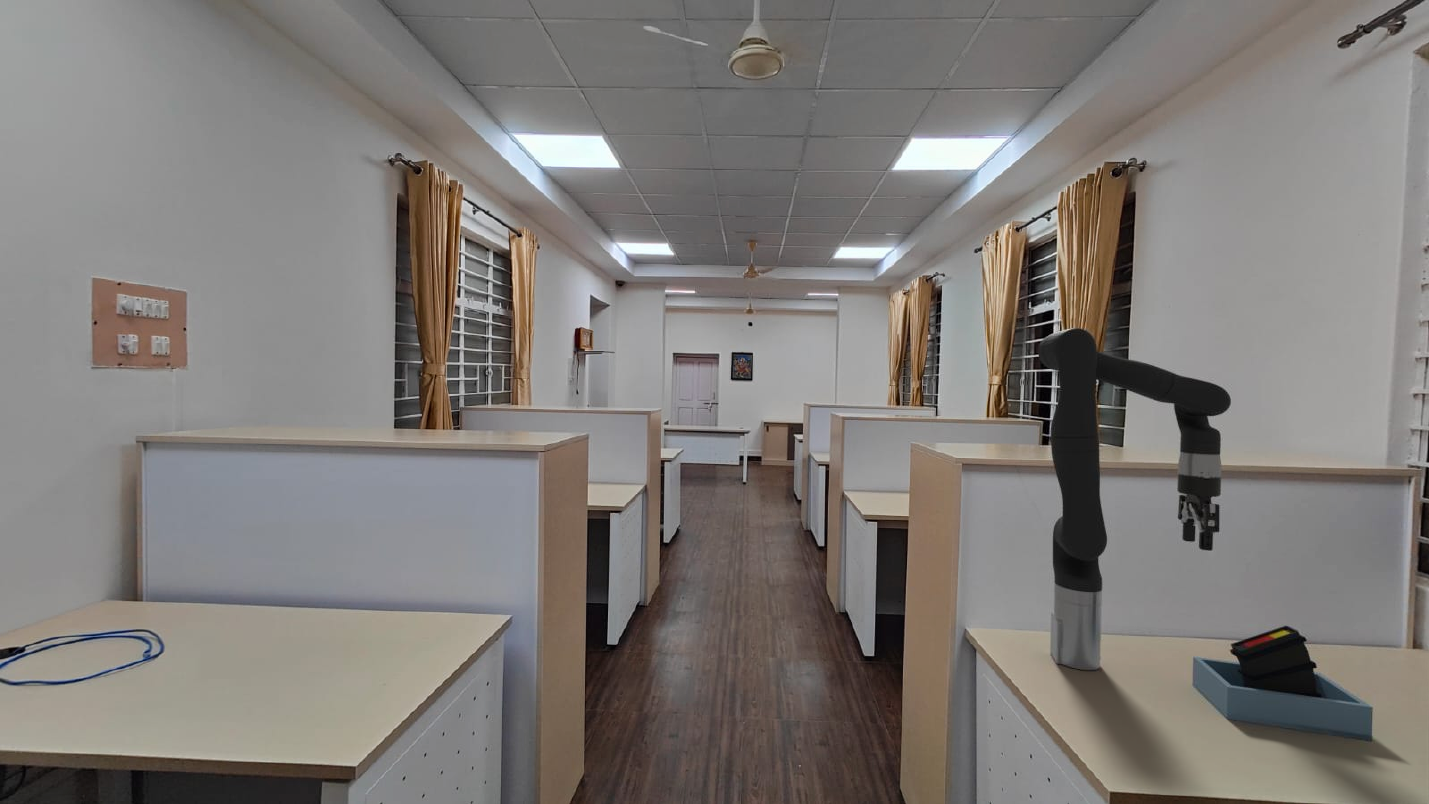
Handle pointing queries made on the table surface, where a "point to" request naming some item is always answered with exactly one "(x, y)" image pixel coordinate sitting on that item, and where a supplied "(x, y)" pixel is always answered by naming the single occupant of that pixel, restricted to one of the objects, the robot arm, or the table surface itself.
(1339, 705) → the bin
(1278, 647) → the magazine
